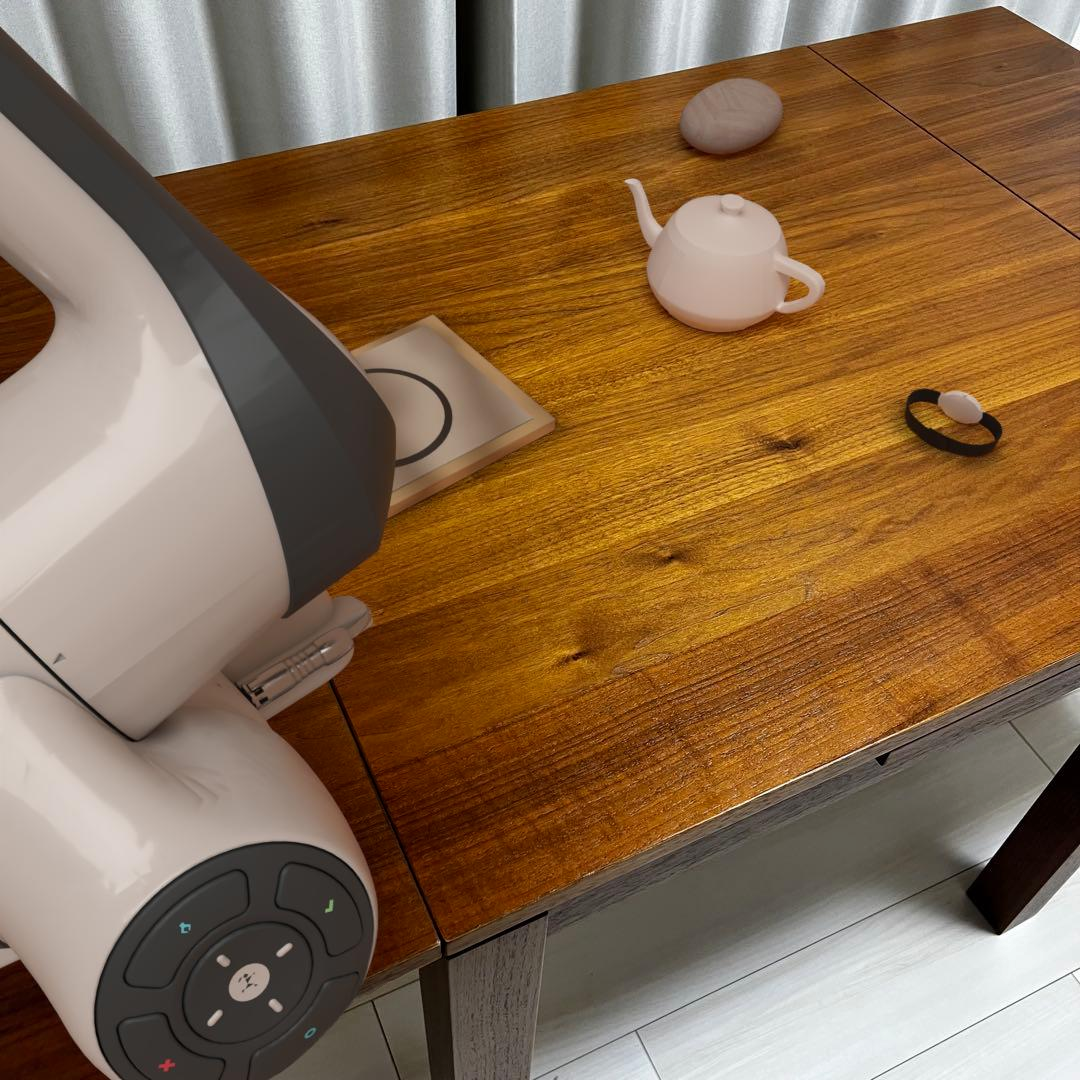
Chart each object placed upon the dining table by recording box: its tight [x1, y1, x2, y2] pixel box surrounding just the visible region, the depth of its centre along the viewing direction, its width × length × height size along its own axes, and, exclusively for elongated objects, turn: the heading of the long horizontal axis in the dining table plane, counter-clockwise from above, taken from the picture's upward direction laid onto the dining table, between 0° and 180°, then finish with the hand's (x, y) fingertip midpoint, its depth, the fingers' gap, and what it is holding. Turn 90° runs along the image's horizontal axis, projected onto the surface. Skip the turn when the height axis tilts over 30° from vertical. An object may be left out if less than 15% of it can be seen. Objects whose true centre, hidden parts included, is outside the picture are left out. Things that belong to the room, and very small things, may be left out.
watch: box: [904, 388, 1003, 457], centre depth 94 cm, size 8×5×4 cm, turn 56°
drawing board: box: [349, 314, 557, 520], centre depth 91 cm, size 22×16×2 cm
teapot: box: [624, 178, 826, 333], centre depth 102 cm, size 20×12×10 cm, turn 53°
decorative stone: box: [678, 77, 784, 155], centre depth 122 cm, size 13×9×5 cm
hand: (89, 677), depth 54 cm, fingers open, 8 cm apart
